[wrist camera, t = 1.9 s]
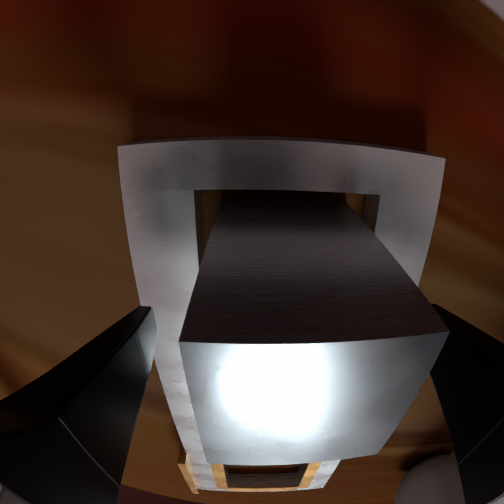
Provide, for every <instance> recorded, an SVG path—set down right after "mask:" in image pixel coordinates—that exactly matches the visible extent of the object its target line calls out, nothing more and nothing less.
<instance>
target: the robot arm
mask: <svg viewBox="0 0 504 504" xmlns="http://www.w3.org/2000/svg"><path fill="white" fill-rule="evenodd" d="M431 305H432V307H433V308H434V309H435V311H436V312H437V314H438V315H439V316H440V318H441V319H442V321H443V322H444V323H445V325H446V326H447V328H448V329H449V331H450V332H449V334H448V337H447V339H446V341H445V343H444V345H443V347H442V349H441V351H440V353H439V355H438V357H437V359H436V361H435V363H434V365H433V367H432V369H431V371H430V375H431V378H432V381H433V384H434V387H435V389H436V392H437V395H438V398H439V401H440V404H441V408H442V411H443V414H444V417H445V420H446V424H447V427H448V431H449V434H450V438H451V441H452V445H453V449H454V453H455V457H456V461H457V464H458V470H459V474H460V479H461V484H462V488H463V494H464V499H465V504H491V503H493V502H495V501H497V500H498V499H500V498H502V497H503V496H504V344H503V343H502V342H500V341H498V340H497V339H495V338H493V337H492V336H490V335H488V334H487V333H485V332H483V331H482V330H480V329H478V328H477V327H475V326H473V325H471V324H470V323H468V322H466V321H465V320H463V319H461V318H459V317H458V316H456V315H454V314H452V313H451V312H449V311H447V310H445V309H444V308H442V307H440V306H438V305H437V304H431ZM156 337H157V324H156V319H155V314H154V310H153V308H152V307H151V306H139V307H137V308H136V309H135V310H133V311H132V312H130V313H129V314H127V315H126V316H125V317H123V318H122V319H120V320H119V321H118V322H116V323H115V324H113V325H112V326H111V327H109V328H108V329H106V330H105V331H104V332H102V333H101V334H99V335H98V336H97V337H95V338H94V339H92V340H91V341H90V342H88V343H87V344H85V345H84V346H83V347H81V348H80V349H79V350H77V351H76V352H74V353H73V354H72V355H70V356H69V357H68V358H66V360H63V361H62V362H61V363H59V364H58V365H56V366H55V367H54V368H52V369H51V370H49V371H48V372H46V373H45V374H43V375H42V376H40V377H39V378H37V379H36V380H34V381H32V382H31V383H29V384H27V385H26V386H24V387H22V388H21V389H19V390H18V391H16V392H14V393H13V394H11V395H9V396H8V397H6V398H4V399H2V400H0V504H117V499H118V494H119V490H120V485H121V480H122V476H123V472H124V468H125V463H126V459H127V455H128V451H129V447H130V443H131V440H132V436H133V432H134V428H135V424H136V421H137V417H138V413H139V410H140V406H141V403H142V399H143V396H144V392H145V389H146V385H147V382H148V379H149V375H150V370H151V365H152V359H153V354H154V348H155V343H156Z"/></svg>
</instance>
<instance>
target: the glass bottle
mask: <svg viewBox="0 0 504 504" xmlns="http://www.w3.org/2000/svg"><path fill="white" fill-rule="evenodd" d="M395 504H465V499H464V494H463V488H462V484H461V479H460V474H459V470H458V464H457V461H456V457H455V456H451V455H438V456H434V457H431V458H428V459H425V460H424V461H422V462H421V463H419V464H417V465H416V466H414V467H413V468H411V469H410V470H409V471H408V472H407V473H406V474H405V476H404V477H403V478H402V480H401V481H400V483H399V485H398V488H397V492H396V498H395Z"/></svg>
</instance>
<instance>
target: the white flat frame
mask: <svg viewBox="0 0 504 504" xmlns="http://www.w3.org/2000/svg"><path fill="white" fill-rule="evenodd" d="M117 147H118V160H119V171H120V181H121V190H122V199H123V207H124V214H125V221H126V228H127V234H128V241H129V247H130V253H131V258H132V264H133V269H134V274H135V279H136V284H137V289H138V294H139V298H140V303H141V306H151V307H152V308H153V310H154V314H155V319H156V324H157V337H156V343H155V348H154V354H153V355H154V359H155V362H156V366H157V369H158V373H159V376H160V379H161V383H162V386H163V389H164V392H165V395H166V399H167V402H168V405H169V408H170V411H171V414H172V416H173V419H174V422H175V425H176V428H177V431H178V433H179V436H180V439H181V444H180V450H179V456H178V463H177V464H178V466H179V468H180V470H181V472H182V474H183V476H184V478H185V480H186V482H187V483H188V485H189V487H190V489H191V491H192V493H195V494H199V490H200V488H201V489H205V490H218V491H242V492H267V491H291V490H305V489H315V488H323V487H324V485H325V484H326V482H327V481H328V479H329V478H330V476H331V475H332V473H333V471H334V470H335V468H336V467H337V465H338V463H339V462H340V460H333V461H325V462H315V463H302V464H300V467H299V469H298V472H296V473H275V474H235V473H228V468H227V465H226V464H209V463H207V461H206V457H205V454H204V450H203V447H202V443H201V439H200V436H199V432H198V428H197V424H196V420H195V416H194V412H193V408H192V404H191V399H190V395H189V391H188V386H187V382H186V377H185V372H184V368H183V363H182V358H181V353H180V348H179V342H178V341H179V337H180V334H181V330H182V326H183V323H184V319H185V316H186V312H187V309H188V305H189V302H190V299H191V295H192V292H193V288H194V285H195V282H196V278H197V275H198V272H199V269H200V265H201V262H202V259H203V256H204V239H203V221H202V201H201V190H222V189H239V190H295V191H321V192H341V193H358V194H365V202H364V210H363V217H362V220H363V221H364V222H365V224H366V225H367V226H368V227H369V228H370V229H371V230H372V232H373V233H374V234H375V235H376V236H377V237H378V239H379V240H380V241H381V242H382V243H383V244H384V246H385V247H386V248H387V249H388V250H389V252H390V253H391V254H392V255H393V257H394V258H395V259H396V260H397V261H398V263H399V264H400V265H401V266H402V268H403V269H404V270H405V271H406V273H407V274H408V275H409V276H410V278H411V279H412V280H413V282H414V283H415V284H416V285H417V287H418V284H419V281H420V278H421V274H422V271H423V267H424V263H425V260H426V256H427V252H428V248H429V244H430V240H431V236H432V232H433V227H434V223H435V218H436V213H437V208H438V203H439V197H440V192H441V186H442V179H443V173H444V166H445V158H443V157H440V156H437V155H434V154H431V153H429V152H425V151H419V150H413V149H407V148H400V147H393V146H386V145H378V144H370V143H361V142H352V141H341V140H330V139H316V138H300V137H276V136H205V137H182V138H165V139H152V140H140V141H132V142H129V143H126V144H123V145H120V146H117Z"/></svg>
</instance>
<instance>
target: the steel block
mask: <svg viewBox="0 0 504 504" xmlns="http://www.w3.org/2000/svg"><path fill="white" fill-rule="evenodd" d="M449 332H450V331H449V329H448V328H447V326H446V325H445V323H444V322H443V321H442V319H441V318H440V316H439V315H438V314H437V312H436V311H435V309H434V308H433V307H432V305H431V304H430V303H429V301H428V300H427V299H426V297H425V296H424V295H423V293H422V292H421V291H420V289H419V288H418V287H417V285H416V284H415V283H414V282H413V280H412V279H411V278H410V276H409V275H408V274H407V273H406V271H405V270H404V269H403V268H402V266H401V265H400V264H399V263H398V261H397V260H396V259H395V258H394V257H393V255H392V254H391V253H390V252H389V250H388V249H387V248H386V247H385V246H384V244H383V243H382V242H381V241H380V240H379V239H378V237H377V236H376V235H375V234H374V233H373V232H372V230H371V229H370V228H369V227H368V226H367V225H366V224H365V222H364V221H363V220H362V219H361V218H360V217H359V216H358V215H357V214H356V212H355V211H354V210H353V209H352V208H351V207H350V206H349V205H348V204H347V203H346V202H335V201H310V200H273V199H222V200H221V203H220V206H219V209H218V212H217V215H216V218H215V221H214V224H213V227H212V230H211V233H210V237H209V240H208V243H207V246H206V249H205V252H204V256H203V259H202V262H201V265H200V269H199V272H198V275H197V278H196V282H195V285H194V288H193V292H192V295H191V299H190V302H189V305H188V309H187V312H186V316H185V319H184V323H183V326H182V330H181V334H180V337H179V341H178V342H179V348H180V353H181V358H182V363H183V368H184V372H185V377H186V382H187V386H188V391H189V395H190V399H191V404H192V408H193V412H194V416H195V420H196V424H197V428H198V432H199V436H200V439H201V443H202V447H203V450H204V454H205V457H206V461H207V463H209V464H226V465H286V464H302V463H315V462H325V461H333V460H341V459H348V458H355V457H361V456H367V455H372V454H378V452H379V451H380V450H381V448H382V447H383V446H384V444H385V443H386V441H387V440H388V439H389V437H390V436H391V434H392V433H393V431H394V430H395V429H396V427H397V426H398V424H399V423H400V421H401V420H402V418H403V416H404V415H405V413H406V412H407V410H408V409H409V407H410V405H411V404H412V402H413V401H414V399H415V397H416V396H417V394H418V392H419V390H420V389H421V387H422V385H423V383H424V382H425V380H426V378H427V376H428V374H429V373H430V371H431V369H432V367H433V365H434V363H435V361H436V359H437V357H438V355H439V353H440V351H441V349H442V347H443V345H444V343H445V341H446V339H447V337H448V334H449Z"/></svg>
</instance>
